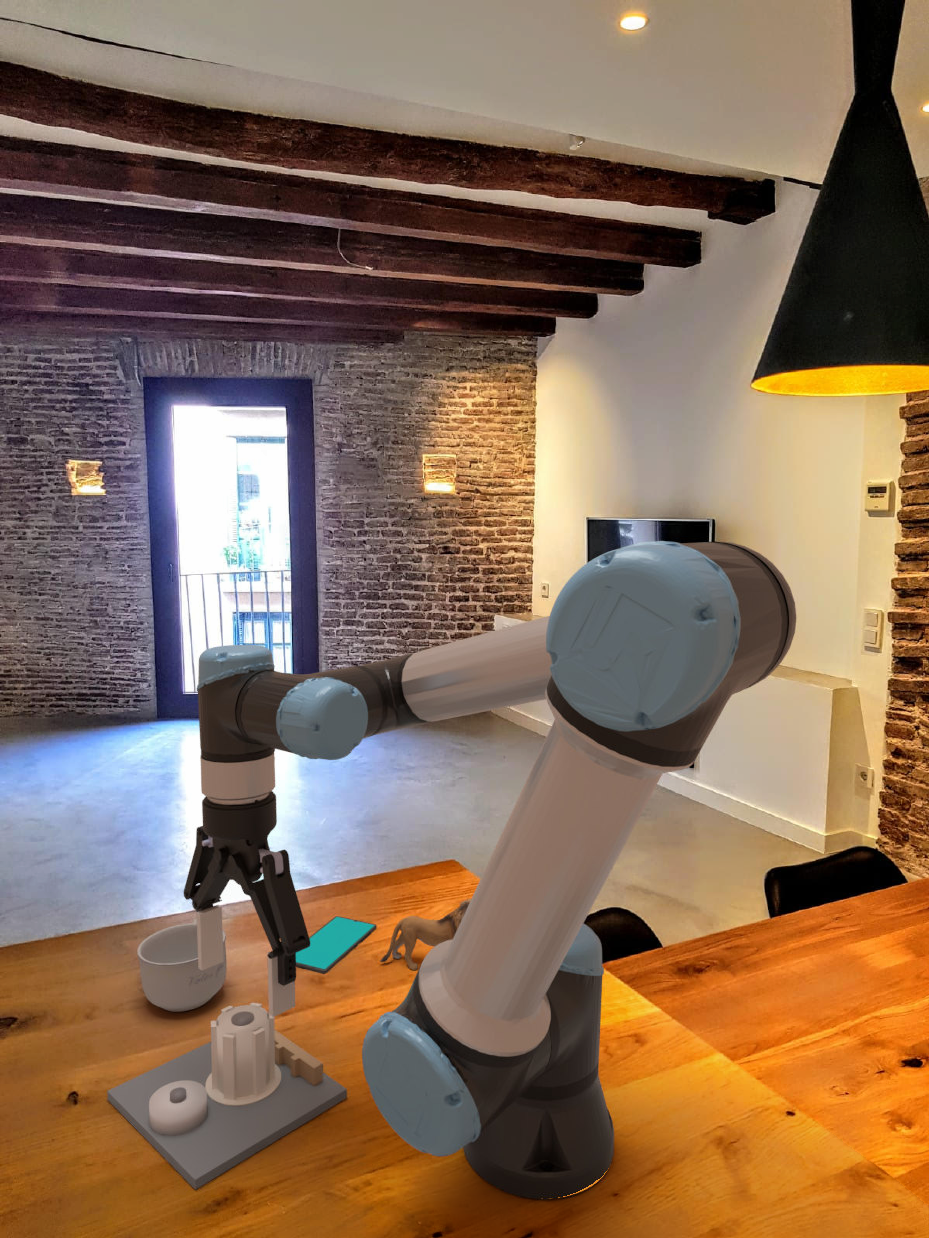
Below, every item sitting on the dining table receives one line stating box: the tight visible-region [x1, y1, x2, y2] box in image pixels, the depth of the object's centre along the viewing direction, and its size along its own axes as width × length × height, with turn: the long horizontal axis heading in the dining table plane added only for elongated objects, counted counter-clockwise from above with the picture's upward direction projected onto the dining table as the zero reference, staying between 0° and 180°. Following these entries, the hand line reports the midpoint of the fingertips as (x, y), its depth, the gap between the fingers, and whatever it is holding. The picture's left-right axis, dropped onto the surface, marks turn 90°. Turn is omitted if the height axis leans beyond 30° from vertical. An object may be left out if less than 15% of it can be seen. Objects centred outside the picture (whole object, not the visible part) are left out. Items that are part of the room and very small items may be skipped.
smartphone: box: [296, 915, 378, 975], centre depth 127 cm, size 7×1×15 cm
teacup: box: [136, 917, 227, 1013], centre depth 114 cm, size 14×11×8 cm
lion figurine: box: [379, 898, 472, 971], centre depth 122 cm, size 15×5×9 cm, turn 98°
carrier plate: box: [106, 1029, 348, 1190], centre depth 93 cm, size 18×18×4 cm
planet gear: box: [210, 1002, 276, 1100], centre depth 94 cm, size 7×6×7 cm
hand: (244, 986), depth 93 cm, fingers open, 13 cm apart
